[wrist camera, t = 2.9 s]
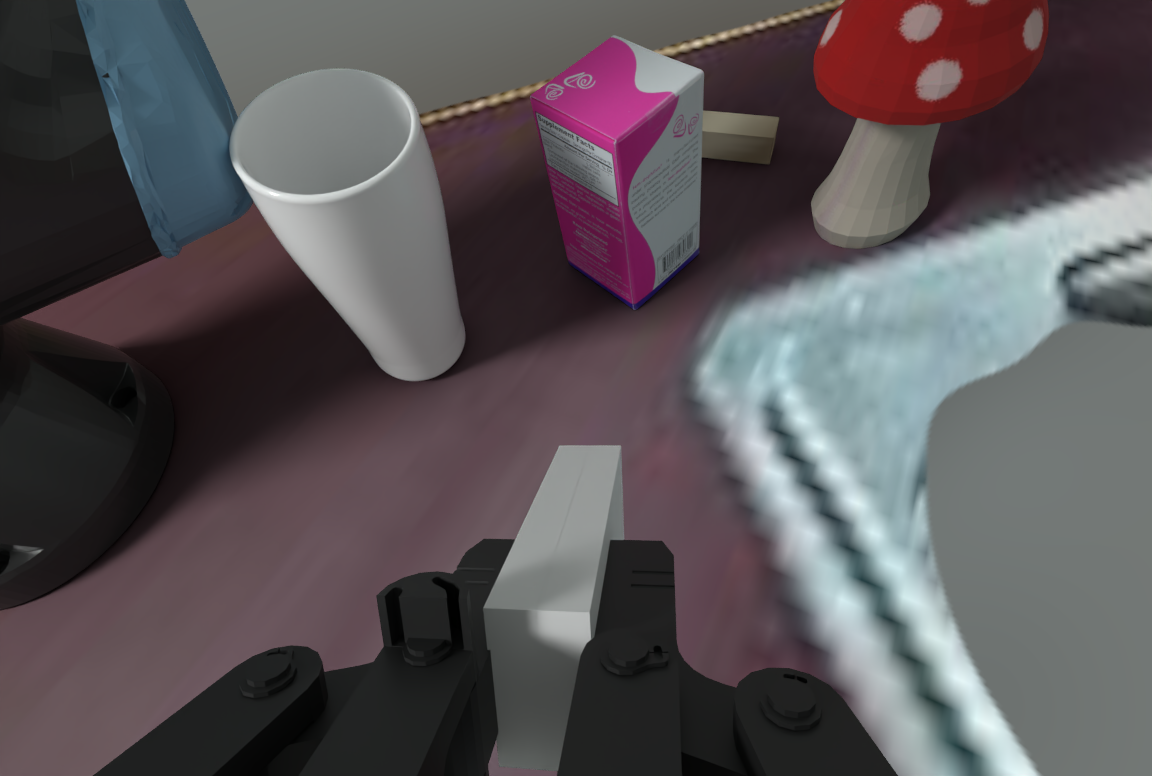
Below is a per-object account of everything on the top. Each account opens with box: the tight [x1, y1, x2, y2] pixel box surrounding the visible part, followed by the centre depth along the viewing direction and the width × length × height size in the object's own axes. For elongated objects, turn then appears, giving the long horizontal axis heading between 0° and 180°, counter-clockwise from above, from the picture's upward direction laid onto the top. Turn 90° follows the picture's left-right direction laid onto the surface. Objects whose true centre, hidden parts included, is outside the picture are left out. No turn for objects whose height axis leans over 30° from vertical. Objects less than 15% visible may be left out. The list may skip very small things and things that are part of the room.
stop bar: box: [702, 111, 779, 164], centre depth 40 cm, size 15×2×2 cm, turn 71°
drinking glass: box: [229, 68, 465, 381], centre depth 28 cm, size 7×7×15 cm
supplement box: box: [530, 35, 704, 310], centre depth 31 cm, size 6×6×12 cm
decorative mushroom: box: [811, 0, 1049, 249], centre depth 29 cm, size 10×9×15 cm
